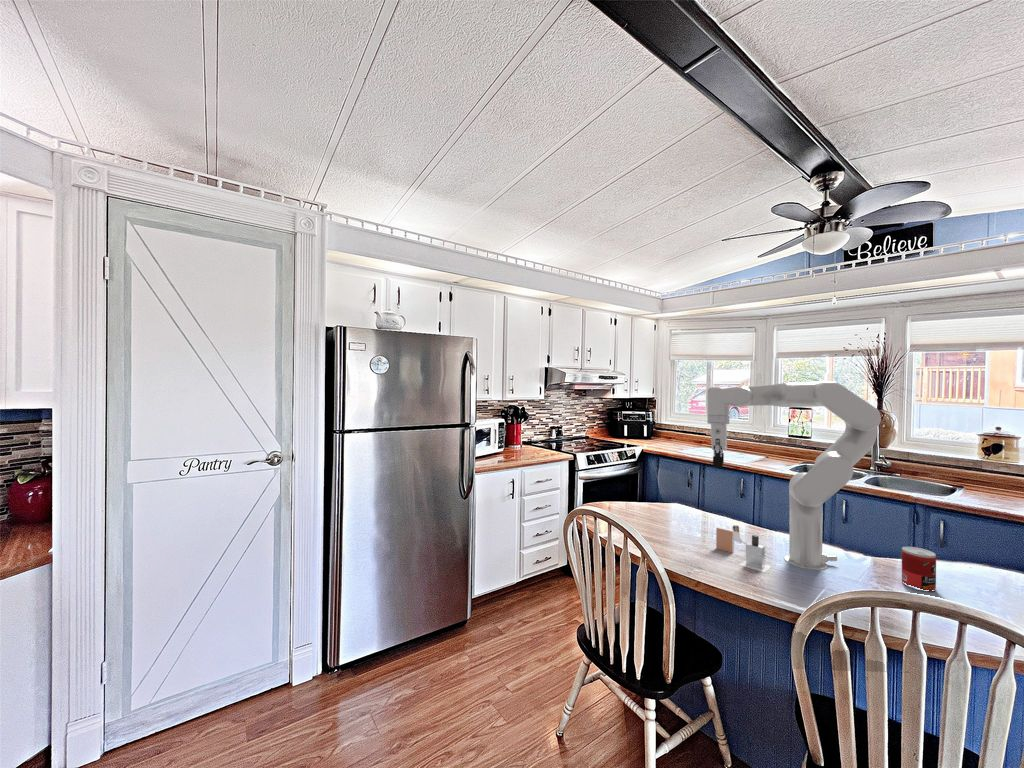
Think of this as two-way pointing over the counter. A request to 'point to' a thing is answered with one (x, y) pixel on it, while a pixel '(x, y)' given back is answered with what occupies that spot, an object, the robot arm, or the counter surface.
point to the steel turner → (755, 553)
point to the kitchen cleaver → (737, 534)
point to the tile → (725, 539)
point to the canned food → (919, 568)
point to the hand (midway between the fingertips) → (718, 465)
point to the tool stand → (755, 567)
